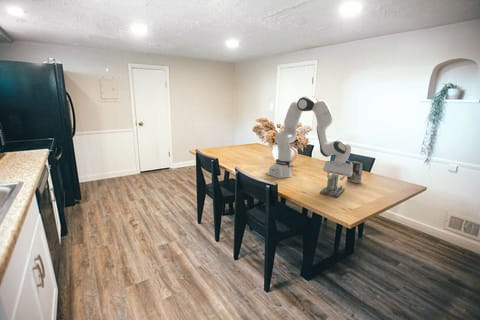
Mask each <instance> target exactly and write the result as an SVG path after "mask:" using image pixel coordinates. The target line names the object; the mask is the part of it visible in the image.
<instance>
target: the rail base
mask: <svg viewBox="0 0 480 320" xmlns="http://www.w3.org/2000/svg"><path fill="white" fill-rule="evenodd" d="M335 179H336V177H331V175H330V177H327V184H326V186H325V187H324V188H323V189H322V190H320V191H319V194H320V195H323V196H327V197H332V198H335V199H337V198H339V197H340V195H342V193H344V191H345V188H344V187H343V185H341V184H340V185H339V186H337V189H336V190H335V191H334V187H335Z"/></svg>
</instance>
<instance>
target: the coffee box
mask: <svg viewBox="0 0 480 320" xmlns="http://www.w3.org/2000/svg"><path fill="white" fill-rule="evenodd" d="M350 162H352V164H353V168H352V169H353V172H352V176H351V177H349V176H346V177H347V178H346V181H347V182H352V183H355V184H359V183H361V181H362V175H363V167H364V162H360V161H355V160H351V161H350Z"/></svg>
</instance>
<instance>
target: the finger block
mask: <svg viewBox="0 0 480 320" xmlns="http://www.w3.org/2000/svg"><path fill="white" fill-rule="evenodd" d="M330 176H331V177H336V179H335V187H334V191H335V190H336V189H337V187H338V184H339V183H338V182H339V176H340V175H338V174H333V173H331V175H330Z"/></svg>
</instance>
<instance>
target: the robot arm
mask: <svg viewBox="0 0 480 320" xmlns="http://www.w3.org/2000/svg"><path fill="white" fill-rule="evenodd" d="M310 111H311V112H313V113H314V115H315V118H316V133H317V139H318V143H319V151H320V154H321V155H322V157H325V158H328V157H331V156H333V155H335V158H334V160H333V161H332V160H328V161H327V160H326V161H325V163H324V166H323V168H322V169H323V172H324V173H327V175H326V177H327V178H328V177H330V176H331V175H330V174H337V175H339V176H342V177H340V178H339V180H340V181H341V182H342V181H344V179H345V178H346V177H347V176H349V177H351V176H352V172H353V169H352V168H353V164H352V162H351V161H350V160H348V159H349V157H350V155H351V152H352V147H351V146H352V145H350V144H349V143H347V142H342V141H341V140H338V139H337V140H333V141H331V142H328V141H327V135H326V131H327V129H328V127H330V126H331V124H332V122H333V120H334V119H333V115H332V112H331V109H330V107H329V105H328V104H327V102H326V101H325V100H322V99H320V100H318V99H317V98H316V97H315V96H310V95H308V96H302V97H300V98H299V99H298V100H297V101H293V102H291V103H290V106H289V107H288V109H287V112H286V115H285V118H284V120H283V125H284V129H283V131H280V132H278V133H277V134H275V136H274V141H275V143H276V144H277V150H278V154H277V159H275V163H273V164H272V165H270V167H269V168H268V170H267V171H266V174H265V175H269V176H271V177H275V178H277V179H281V178H282V179H283V178H284V179H285V178H291V177H293V174H292V150H291V145H290V144H291V143H293V142H295V140H296V139H297V127H298V124H299V121H300V119H301V116H302V113H303V112H310Z"/></svg>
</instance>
